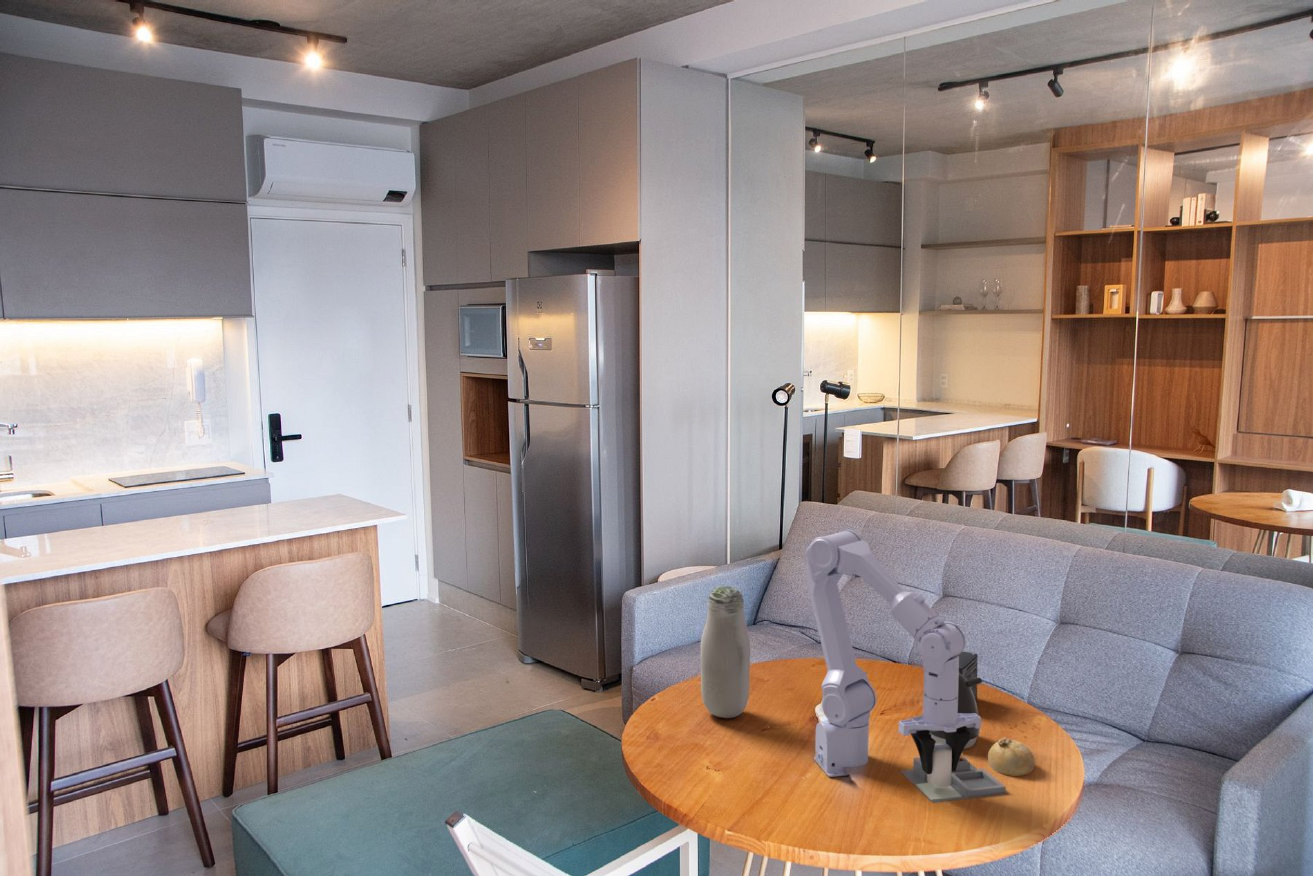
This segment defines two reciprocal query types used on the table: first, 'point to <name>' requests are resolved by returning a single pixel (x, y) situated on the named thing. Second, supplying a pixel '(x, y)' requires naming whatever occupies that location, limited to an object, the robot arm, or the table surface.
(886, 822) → the table surface
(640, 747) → the table surface
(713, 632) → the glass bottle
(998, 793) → the housing
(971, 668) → the small box
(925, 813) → the table surface
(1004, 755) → the onion
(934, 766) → the disc
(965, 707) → the pump dispenser
